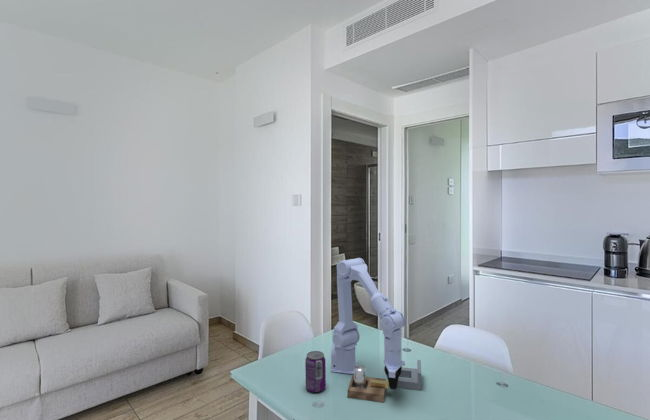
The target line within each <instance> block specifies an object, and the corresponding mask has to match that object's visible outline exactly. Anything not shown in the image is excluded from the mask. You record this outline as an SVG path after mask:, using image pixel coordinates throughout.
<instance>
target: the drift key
mask: <svg viewBox="0 0 650 420" xmlns="http://www.w3.org/2000/svg"><path fill="white" fill-rule="evenodd" d="M370 386H377V387H385V388H386V389H388V390H389V389H390V387H389V382H388V379H386V381H382V380H374V379H371V381H370Z"/></svg>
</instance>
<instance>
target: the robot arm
mask: <svg viewBox="0 0 650 420" xmlns="http://www.w3.org/2000/svg"><path fill="white" fill-rule="evenodd" d="M352 281H357V282H358V283H360V285H361V286H362V288H363V289H364V290H365V291H366V293H367V294H368V295H369V297H370V304H371V306H372V307H373V309H374V310H375V312H376V313H377V315H378V316H379V318H380V321H379V322H380V328H382V334H383V337H384V340H383V341H384V342H383V343H384V344H383V347H384V351H383V353H384V354H383V355H384V357H383V359H384V360H383V364H384V368H383V370H384V373H385V376H386V377H387V380H388V382H389V389H391V390H397V389H398V388H397V383H398V379H399V378H400V374H401V369H402V367H403V366H406V361H405V360H402V354H403V353H402V351H403V350H402V328H403V327H405V323H406V320H405V316H404V315H403V313H402V312H401V311H399V310H397V309H396V308H394V306H393V305H392V303H391V301H390V300H389V299H388V297H387V295H386V294H385V293H382V292H380V291H379V290H378V288H377V286H376V284H375V282H374V281H373V279H372V277H371V276H370V273H369V272H368V265H367V264H366V263H365V261H364V259H363V258H361V257H356V258H350V259H345V260H344V259H343V260H340V261H339V262H338V263H337V264H336V286H337V287H336V289H337V306H338V307H337V308H338V310H337V311H338V322H337V323H336V325H334V327H333V334H332V343H333V345H332V346H331V352H330V372H331V373H338V374H339V373H340V374H348V375H354V367H355V366H357V365H359V364H358V363H357V361H356V359H357V358H356V346H357V345H358V342H360V340H361V339H360V338H361V337H360V332H359V329H358V324H357V323H356V322H354V321H353V319H354V318H353V299H352V298H353V297H352Z"/></svg>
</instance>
